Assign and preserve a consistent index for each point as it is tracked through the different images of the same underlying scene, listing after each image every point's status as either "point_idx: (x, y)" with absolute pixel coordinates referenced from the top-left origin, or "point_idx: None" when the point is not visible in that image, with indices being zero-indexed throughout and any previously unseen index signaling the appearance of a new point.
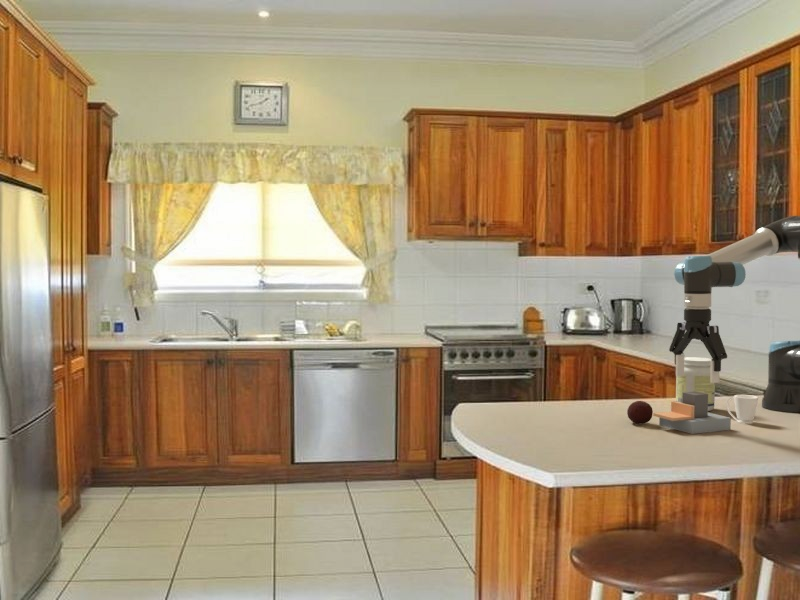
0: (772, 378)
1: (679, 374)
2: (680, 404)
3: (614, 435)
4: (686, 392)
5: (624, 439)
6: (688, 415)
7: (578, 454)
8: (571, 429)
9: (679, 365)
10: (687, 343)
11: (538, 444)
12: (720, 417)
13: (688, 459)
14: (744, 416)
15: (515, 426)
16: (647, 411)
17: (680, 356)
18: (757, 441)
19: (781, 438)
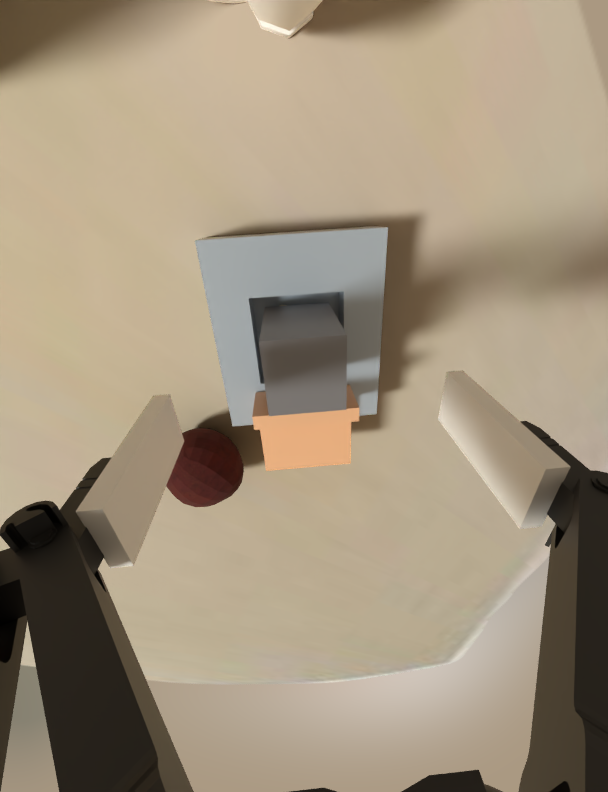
0: None
1: (176, 434)
2: (303, 424)
3: (309, 543)
4: (275, 402)
5: (347, 543)
6: None
7: (398, 623)
8: (234, 581)
9: (158, 477)
10: (134, 676)
11: (322, 641)
12: (364, 268)
13: None
14: (310, 11)
15: (187, 635)
16: (240, 473)
17: (127, 531)
18: (531, 280)
19: (568, 144)
